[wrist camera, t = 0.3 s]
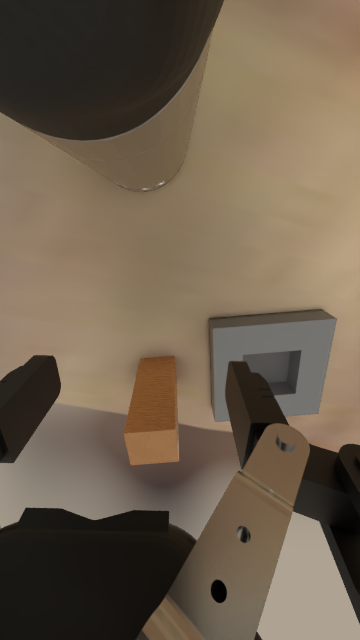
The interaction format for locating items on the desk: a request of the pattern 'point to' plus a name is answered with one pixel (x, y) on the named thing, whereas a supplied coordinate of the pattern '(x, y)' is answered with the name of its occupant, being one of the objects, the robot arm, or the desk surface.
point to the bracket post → (153, 413)
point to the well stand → (274, 356)
